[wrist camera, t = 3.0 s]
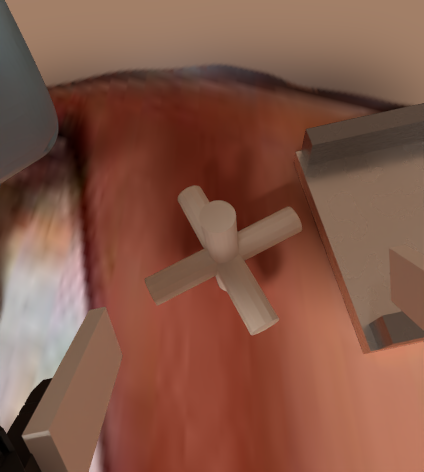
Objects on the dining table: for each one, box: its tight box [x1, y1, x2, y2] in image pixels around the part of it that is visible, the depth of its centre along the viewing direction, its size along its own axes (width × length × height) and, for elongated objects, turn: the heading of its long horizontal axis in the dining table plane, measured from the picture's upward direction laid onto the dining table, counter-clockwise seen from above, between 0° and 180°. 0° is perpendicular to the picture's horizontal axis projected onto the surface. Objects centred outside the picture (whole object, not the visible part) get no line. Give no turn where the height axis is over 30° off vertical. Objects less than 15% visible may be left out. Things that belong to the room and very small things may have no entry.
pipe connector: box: [145, 186, 302, 335], centre depth 22 cm, size 10×10×10 cm
